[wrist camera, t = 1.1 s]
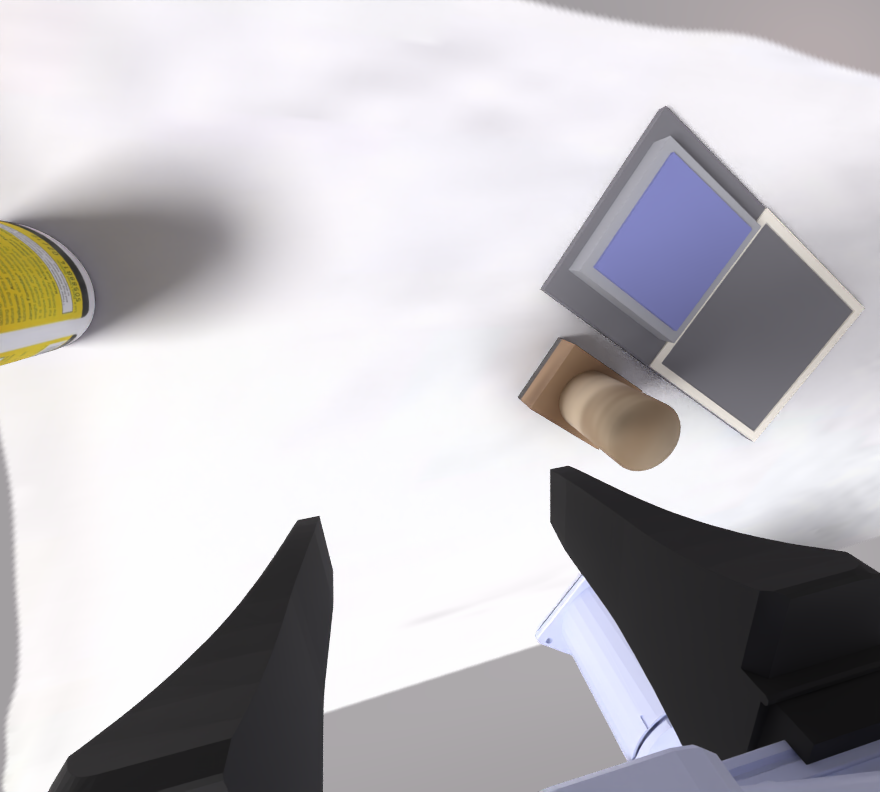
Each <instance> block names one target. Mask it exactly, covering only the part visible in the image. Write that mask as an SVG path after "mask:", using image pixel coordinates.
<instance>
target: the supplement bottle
mask: <svg viewBox="0 0 880 792" xmlns="http://www.w3.org/2000/svg"><path fill="white" fill-rule="evenodd" d="M94 309H95V296H94V290H93V286H92V283H91V280H90V278H89V276H88V274H87V272H86V270H85V268H84V267H83V265H82V264H81V263H80V261H79V260H78V259H77V258H76V257H75V255H74V254H72V253H71V252H70V251H69V250H68V249H67V248H66V247H65V246H64V245H62V244H61V243H60V242H58V241H57V240H55V239H54V238H52V237H51V236H49V235H47V234H45V233H43V232H41V231H38V230H36V229H33V228H31V227H28V226H24V225H21V224H16V223H11V222H5V221H0V366H1V365H4V364H8V363H11V362H15V361H18V360H21V359H25V358H29V357H32V356H36V355H39V354H42V353H46V352H49V351H53V350H55V349H58V348H61V347H64V346H66V345H68V344H70V343H72V342H74V341H75V340H76V339H78V338H79V337H80V336H81V335H82V334H83V333H84V332H85V331H86V330H87V328H88V326H89V325H90V323H91V320H92V318H93V315H94Z"/></svg>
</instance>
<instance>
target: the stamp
mask: <svg viewBox="0 0 880 792" xmlns="http://www.w3.org/2000/svg"><path fill="white" fill-rule="evenodd" d="M518 398H519V399H520V400H521V401H522V402H524V403H525V404H526V405H527V406H528V407H529V408H530V409H531V410H533V411H535V412H536V413H538V414H540V415H541V416H543V417H545V418H546V419H548V420H550V421H551V422H553V423H555V424H556V425H558V426H560V427H561V428H563V429H565V430H566V431H568V432H570V433H571V434H573V435H575V436H576V437H578V438H580V439H581V440H583V441H585V442H586V443H588V444H590V445H591V446H593V447H595V448H596V449H599V448H600V449H601V450H602V451H603V452H604V453H606V454H607V455H608V456H609V457H611V458H612V459H613V460H614V461H616V462H617V463H618V464H619V465H621V466H622V467H623V468H625V469H628V470H632V471H643V470H648V469H651V468H653V467H655V466H657V465H659V464H660V463H662V462H663V461H664V460H665V459H666V458H667V457H668V456H669V455H670V454H671V453H672V451H673V450H674V448H675V447H676V445H677V442H678V440H679V436H680V428H681V427H680V420H679V417H678V415H677V413H676V412H675V411H674V409H673V408H671V407H670V406H669V405H667V404H665V403H663V402H661V401H659V400H657V399H655V398H653V397H651V396H648V395H646V394H644V393H642V390H640V389H639V388H637V387H636V386H635V385H633V384H632V383H630V382H629V381H627V380H626V379H624V378H623V377H622V376H620V375H619V374H617V373H616V372H614V371H613V370H611V369H610V368H609V367H607V366H606V365H604V364H603V363H601V362H600V361H598V360H597V359H596V358H594V357H593V356H591V355H590V354H588V353H587V352H585V351H584V350H583V349H581V348H580V347H578V346H577V345H575V344H573V343H571V342H568V341H566V340H563V339H561V338H558V339H557V341H556V342H555V344H554V345H553V347H552V348H551V349H550V351H549V352H548V354H547V355H546V357H545V358H544V360H543V361H542V363H541V364H540V365H539V367H538V368H537V370H536V371H535V373H534V374H533V376H532V377H531V379H530V380H529V382H528V383H527V384H526V386H525V387H524V389H523V390H522V392H521V393H520V395H519V396H518Z"/></svg>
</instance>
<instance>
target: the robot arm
mask: <svg viewBox="0 0 880 792" xmlns="http://www.w3.org/2000/svg"><path fill="white" fill-rule="evenodd" d="M550 522H551V524H552V526H553V528H554V530H555V532H556V534H557V536H558V538H559V540H560V542H561V544H562V545H563V547H564V549H565V551H566V552H567V554H568V555H569V556H570V558H571V559H572V561H573V562H574V564H575V565H576V566H577V568H578V569H579V571H580V572H581V574H582V576H581V577H580V578H579V580H578V581H577V582H576V583H575V585H574V586H573V587H572V588H571V590H570V591H569V592H568V593H567V595H566V596H565V597H564V599H563V600H562V601H561V602H560V604H559V605H558V606H557V607H556V609H555V610H554V611H553V612H552V614H551V615H550V616H549V617H548V619H547V620H546V621H545V623H544V624H543V625H542V626H541V628H540V629H539V630H538V631H537V633H536V635H535V637H536V639H537V641H538V642H539V643H540V644H543V645H546V646H548V647H551V648H554V649H556V650H559V651H562V652H564V653H567V654H569V655H572V656H573V658H574V660H575V662H576V663H577V665H578V667H579V669H580V671H581V673H582V675H583V677H584V679H585V681H586V683H587V684H588V687H589V689H590V690H591V692H592V694H593V696H594V698H595V700H596V702H597V704H598V706H599V708H600V710H601V712H602V713H603V715H604V717H605V719H606V721H607V723H608V725H609V727H610V729H611V731H612V733H613V734H614V736H615V738H616V740H617V742H618V744H619V746H620V748H621V750H622V752H623V754H624V756H625V757H626V760H627V761H628V762H625V763H622V764H619V765H615V766H612V767H609V768H606V769H603V770H600V771H597V772H594V773H591V774H588V775H584V776H582V777H578V778H575V779H572V780H569V781H566V782H563V783H560V784H557V785H553V786H550V787H547V788H545V789H543V790H541V791H539V792H880V573H879V572H877V571H876V570H874V569H872V568H871V567H869V566H868V565H866V564H865V563H863V562H862V561H860V560H859V559H857V558H855V557H854V556H852V555H851V554H849V553H847V552H843V551H836V550H829V549H822V548H816V547H809V546H802V545H795V544H790V543H784V542H779V541H774V540H769V539H764V538H760V537H755V536H751V535H747V534H742V533H738V532H735V531H731V530H727V529H723V528H720V527H716V526H712V525H709V524H706V523H702V522H699V521H696V520H693V519H690V518H687V517H684V516H681V515H678V514H676V513H673V512H670V511H667V510H665V509H662V508H660V507H657V506H655V505H652V504H650V503H648V502H645V501H643V500H641V499H638V498H636V497H634V496H632V495H629V494H627V493H625V492H623V491H621V490H619V489H617V488H614V487H612V486H610V485H608V484H606V483H604V482H602V481H600V480H598V479H596V478H594V477H592V476H590V475H588V474H586V473H584V472H581V471H579V470H577V469H575V468H573V467H570V466H565V467H560V468H555V469H550ZM332 612H333V569H332V565H331V561H330V557H329V553H328V549H327V545H326V541H325V537H324V533H323V529H322V525H321V521H320V517H319V516H317V517H312V518H307V519H302V520H298V521H297V522H296V523H295V525H294V526H293V528H292V530H291V531H290V533H289V534H288V536H287V537H286V539H285V541H284V542H283V544H282V545H281V547H280V548H279V550H278V552H277V553H276V555H275V556H274V558H273V559H272V560H271V562H270V563H269V565H268V566H267V568H266V569H265V571H264V572H263V574H262V575H261V576H260V578H259V579H258V580H257V582H256V583H255V584H254V586H253V587H252V588H251V590H250V591H249V592H248V593H247V595H246V596H245V597H244V599H243V600H242V601H241V603H240V604H239V605H238V606H237V607H236V609H235V610H234V611H233V612H232V613H231V615H230V616H229V617H228V618H227V619H226V620H225V621H224V622H223V624H222V625H221V626H220V627H219V628H218V629H217V630H216V631H215V632H214V633H213V634H212V635H211V637H210V638H209V639H208V640H207V641H206V642H205V643H203V644H202V645H201V646H200V647H199V648H198V649H197V650H196V651H195V652H194V653H193V654H192V655H191V656H190V657H189V658H188V659H187V660H186V661H185V662H184V663H183V664H182V665H181V666H180V667H179V668H178V669H177V670H176V671H175V672H174V673H172V674H171V675H170V676H169V677H168V678H167V679H166V680H165V681H163V682H162V683H161V684H160V685H159V686H158V687H157V688H156V689H154V690H153V691H152V692H151V693H150V694H148V695H147V696H146V697H145V698H144V699H143V700H141V701H140V702H139V703H138V704H137V705H135V706H134V707H133V708H132V709H130V710H129V711H128V712H127V713H126V714H124V715H123V716H122V717H120V718H119V719H118V720H117V721H115V722H114V723H113V724H111V725H110V726H109V727H107V728H106V729H105V730H103V731H102V732H101V733H100V734H98V735H97V736H96V737H94V738H93V739H92V740H90V741H89V742H88V743H87V744H85V745H84V746H83V747H81V748H80V749H79V750H77V751H76V752H74V753H73V754H72V755H70V756H69V757H68V759H67V760H66V762H65V764H64V765H63V767H62V769H61V770H60V772H59V774H58V775H57V777H56V779H55V780H54V782H53V784H52V785H51V787H50V789H49V791H48V792H323V706H324V689H325V678H326V668H327V659H328V650H329V641H330V632H331V622H332Z"/></svg>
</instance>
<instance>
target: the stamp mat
mask: <svg viewBox="0 0 880 792" xmlns="http://www.w3.org/2000/svg"><path fill="white" fill-rule="evenodd" d="M541 290H542V291H543V292H545V293H546V294H548V295H549V296H550V297H552V298H553V299H554V300H556V301H557V302H559V303H560V304H561V305H563V306H564V307H566V308H567V309H568V310H570V311H571V312H572V313H574V314H575V315H577V316H578V317H579V318H581V319H582V320H584V321H585V322H586V323H588V324H589V325H590V326H592V327H593V328H595V329H596V330H597V331H599V332H600V333H601V334H603V335H604V336H606V337H607V338H608V339H610V340H611V341H613V342H614V343H615V344H617V345H618V346H619V347H621V348H622V349H624V350H625V351H626V352H628V353H629V354H631V355H632V356H633V357H635V358H636V359H637V360H639V361H640V362H642V363H643V364H644V365H646V366H647V367H648V368H650V369H651V370H653V371H654V372H655V373H657V374H658V375H660V376H661V377H662V378H664V379H665V380H666V381H668V382H669V383H671V384H672V385H673V386H675V387H676V388H678V389H679V390H680V391H682V392H683V393H684V394H686V395H687V396H689V397H690V398H691V399H693V400H694V401H696V402H697V403H698V404H700V405H701V406H702V407H704V408H705V409H707V410H708V411H709V412H711V413H712V414H713V415H715V416H716V417H718V418H719V419H720V420H722V421H723V422H725V423H726V424H727V425H729V426H730V427H731V428H733V429H734V430H736V431H737V432H738V433H740V434H741V435H743V436H744V437H745V438H747V439H749V440H751V441H753V442H755V441H756V440H757V438H758V437H759V436H760V435H761V434H762V432H763V431H764V430H765V429H766V427H767V426H768V425H769V424H770V423H771V421H772V420H773V419H774V418H775V417H776V415H777V414H778V413H779V412H780V411H781V409H782V408H783V407H784V406H785V405H786V403H787V402H788V401H789V400H790V398H791V397H792V396H793V395H794V394H795V392H796V391H797V390H798V389H799V388H800V386H801V385H802V384H803V383H804V382H805V380H806V379H807V378H808V377H809V376H810V374H811V373H812V372H813V371H814V369H815V368H816V367H817V366H818V365H819V363H820V362H821V361H822V360H823V359H824V357H825V356H826V355H827V354H828V353H829V351H830V350H831V349H832V348H833V347H834V345H835V344H836V343H837V342H838V340H839V339H840V338H841V337H842V336H843V334H844V333H845V332H846V331H847V330H848V328H849V327H850V326H851V325H852V324H853V322H854V321H855V320H856V319H857V318H858V316H859V315H860V314H861V313H862V311H863V310H864V309H865V308H864V307H863V306H862V305H861V304H860V303H859V302H858V301H857V300H856V299H855V298H854V297H853V296H852V294H851V293H850V292H849V291H848V290H847V289H846V288H845V287H844V286H843V285H842V284H841V283H840V282H839V281H838V280H837V279H836V278H835V277H834V276H833V275H832V274H831V273H830V272H829V271H828V270H827V269H826V268H825V267H824V266H823V265H822V264H821V263H820V262H819V261H818V260H817V258H816V257H815V256H814V255H813V254H812V253H811V252H810V251H809V250H808V249H807V248H806V247H805V246H804V245H803V244H802V243H801V242H800V241H799V240H798V239H797V238H796V237H795V236H794V235H793V234H792V233H791V232H790V231H789V230H788V229H787V228H786V227H785V226H784V225H783V223H782V222H781V221H780V220H779V219H778V218H777V217H776V216H775V215H774V214H773V213H772V212H771V211H770V210H769V209H768V208H765V207H764V206H763V205H762V204H761V203H760V202H759V201H758V200H757V199H756V198H755V197H754V196H753V195H752V194H751V193H750V192H749V191H748V189H747V188H746V187H745V186H744V185H743V184H742V183H741V182H740V181H739V180H738V179H737V178H736V177H735V176H734V175H733V174H732V173H731V172H730V171H729V170H728V169H727V168H726V167H725V166H724V165H723V164H722V163H721V162H720V161H719V160H718V159H717V158H716V157H715V156H714V155H713V154H712V153H711V152H710V150H709V149H708V148H707V147H706V146H705V145H704V144H703V143H702V142H701V141H700V140H699V139H698V138H697V137H696V136H695V135H694V134H693V133H692V132H691V131H690V130H689V129H688V128H687V127H686V126H685V125H684V124H683V123H682V122H681V121H680V120H679V119H678V118H677V117H676V116H675V115H674V114H673V112H672V111H671V110H670V109H669V108H668V107H667V106H665V107H663V108H661V109H659V110H658V112H657V114H656V115H655V117H654V118H653V120H652V121H651V123H650V124H649V126H648V127H647V129H646V130H645V132H644V133H643V135H642V136H641V138H640V139H639V141H638V142H637V144H636V145H635V147H634V148H633V150H632V151H631V153H630V154H629V156H628V157H627V159H626V160H625V162H624V164H623V165H622V167H621V168H620V170H619V171H618V173H617V174H616V176H615V177H614V179H613V180H612V182H611V183H610V185H609V186H608V188H607V189H606V191H605V192H604V194H603V195H602V197H601V198H600V200H599V201H598V203H597V204H596V206H595V207H594V209H593V211H592V212H591V214H590V215H589V217H588V218H587V220H586V221H585V223H584V224H583V226H582V227H581V229H580V230H579V232H578V233H577V235H576V236H575V238H574V239H573V241H572V242H571V244H570V245H569V247H568V248H567V250H566V251H565V253H564V254H563V256H562V257H561V259H560V261H559V262H558V264H557V265H556V267H555V268H554V270H553V271H552V273H551V274H550V276H549V277H548V279H547V280H546V282H545V283H544V285H543V286H542V288H541Z"/></svg>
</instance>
